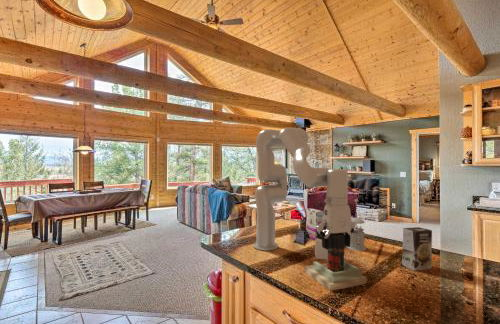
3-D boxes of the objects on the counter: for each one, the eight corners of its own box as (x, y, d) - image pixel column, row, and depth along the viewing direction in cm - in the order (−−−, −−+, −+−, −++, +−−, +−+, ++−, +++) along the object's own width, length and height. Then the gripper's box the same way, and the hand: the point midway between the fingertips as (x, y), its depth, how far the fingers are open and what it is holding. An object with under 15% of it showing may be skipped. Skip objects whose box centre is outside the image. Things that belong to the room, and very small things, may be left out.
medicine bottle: (332, 260, 113) (332, 233, 113) (315, 259, 114) (316, 232, 114) (330, 254, 120) (330, 229, 120) (314, 253, 121) (315, 228, 121)
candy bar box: (323, 240, 142) (324, 211, 142) (316, 241, 140) (316, 211, 140) (313, 235, 152) (313, 208, 152) (305, 235, 151) (306, 208, 151)
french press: (362, 244, 135) (363, 198, 135) (370, 252, 124) (371, 201, 124) (343, 244, 136) (344, 197, 136) (349, 251, 125) (350, 200, 125)
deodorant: (324, 269, 98) (325, 230, 98) (339, 269, 99) (340, 230, 99) (330, 276, 92) (331, 235, 92) (346, 275, 93) (347, 235, 93)
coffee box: (415, 271, 103) (415, 231, 103) (401, 265, 109) (402, 227, 109) (432, 269, 105) (432, 230, 105) (418, 263, 112) (418, 226, 112)
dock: (304, 271, 101) (304, 258, 101) (337, 266, 107) (337, 254, 107) (330, 290, 86) (330, 276, 86) (366, 283, 92) (366, 269, 92)
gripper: (323, 204, 89) (322, 252, 89) (362, 202, 95) (361, 247, 95) (311, 201, 96) (310, 246, 96) (348, 199, 102) (347, 241, 102)
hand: (336, 247), depth 95 cm, fingers open, 9 cm apart
